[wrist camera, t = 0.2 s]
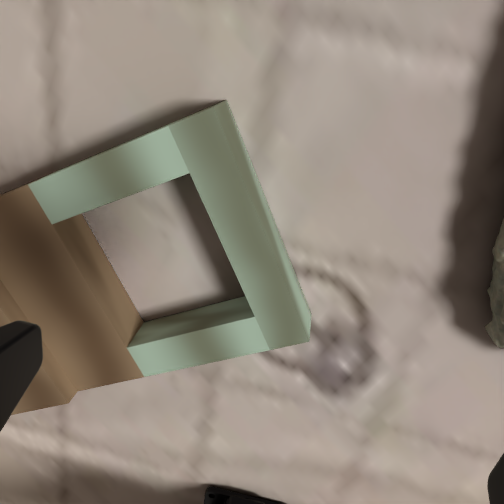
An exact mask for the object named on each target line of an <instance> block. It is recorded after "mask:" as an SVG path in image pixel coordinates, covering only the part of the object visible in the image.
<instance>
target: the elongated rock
mask: <svg viewBox="0 0 504 504" xmlns="http://www.w3.org/2000/svg"><path fill="white" fill-rule="evenodd" d="M492 253H493V255H494V262H493V266H492V272H493V278H492V281H491V283H490V287H489V288H488V289H487V292H488V294H489V296H490V299H491V300H490V303H491V310H492V313H493V317H492V321H491V322H490V323H489V324H488V325H486V326H485V329H486V331H487V332H488V334H489V336H490V337H491V339H492V341H493V342H494V343H495V345H496V346H498V347H499V348H500V349H503V348H504V219H503V221H502V225H501V228H500V232H499V235H498V236H497V238H496V243H495V246H494V248H493V249H492Z"/></svg>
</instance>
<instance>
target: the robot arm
mask: <svg viewBox="0 0 504 504" xmlns="http://www.w3.org/2000/svg"><path fill="white" fill-rule="evenodd" d="M42 361H43V346H42V332H41V328H40V326H39V325H37V324H34V323H30V322H26V321H21V320H18V321H14V322H11V323H9V324H6V325H3V326H1V327H0V431H1V430H2V428H3V427H4V425H5V424H6V422H7V420H8V419H9V417H10V416H11V414H12V412H13V411H14V409H15V408H16V406H17V404H18V403H19V401H20V399H21V398H22V396H23V395H24V393H25V391H26V390H27V388H28V387H29V385H30V383H31V382H32V380H33V379H34V377H35V375H36V374H37V372H38V371H39V369H40V367H41V364H42ZM488 494H489V501H490V504H504V454H503V455H502V457H501V458H500V460H499V461H498V462H497V464H496V465H495V467H494V468H493V470H492V471H491V473H490V475H489V478H488ZM204 504H279V503H275V502H271V501H267V500H264V499H260V498H256V497H252V496H248V495H244V494H240V493H236V492H232V491H228V490H224V489H220V488H216V487H208V488H207V490H206V493H205V499H204Z"/></svg>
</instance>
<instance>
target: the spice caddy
mask: <svg viewBox="0 0 504 504" xmlns="http://www.w3.org/2000/svg"><path fill="white" fill-rule="evenodd" d="M189 173H190V175H191V177H192V180H193V182H194V184H195V186H196V188H197V191H198V193H199V195H200V197H201V199H202V202H203V204H204V206H205V208H206V210H207V213H208V215H209V217H210V219H211V221H212V224H213V226H214V228H215V230H216V232H217V235H218V237H219V239H220V241H221V243H222V246H223V248H224V250H225V252H226V254H227V257H228V259H229V261H230V263H231V265H232V268H233V270H234V272H235V274H236V276H237V279H238V281H239V283H240V285H241V287H242V290H243V292H244V294H245V296H244V297H240V298H236V299H232V300H228V301H224V302H220V303H217V304H213V305H209V306H205V307H201V308H197V309H194V310H190V311H186V312H182V313H178V314H174V315H171V316H167V317H163V318H159V319H155V320H151V321H148V322H143V320H142V318H141V317H140V315H139V313H138V311H137V310H136V308H135V306H134V304H133V303H132V301H131V299H130V297H129V296H128V294H127V292H126V291H125V289H124V287H123V285H122V284H121V282H120V280H119V278H118V277H117V275H116V273H115V271H114V270H113V268H112V266H111V264H110V263H109V261H108V259H107V257H106V256H105V254H104V252H103V250H102V249H101V247H100V245H99V243H98V242H97V240H96V238H95V236H94V235H93V233H92V231H91V229H90V228H89V226H88V224H87V222H86V221H85V219H84V217H83V215H82V214H81V213H84V212H87V211H89V210H92V209H95V208H97V207H100V206H103V205H105V204H108V203H111V202H113V201H116V200H119V199H122V198H124V197H127V196H130V195H132V194H135V193H138V192H140V191H143V190H146V189H148V188H151V187H154V186H156V185H159V184H162V183H164V182H167V181H170V180H172V179H175V178H178V177H181V176H183V175H186V174H189ZM18 320H21V321H26V322H30V323H34V324H37V325H39V326H40V328H41V332H42V346H43V361H42V364H41V367H40V369H39V371H38V372H37V374H36V375H35V377H34V379H33V380H32V382H31V383H30V385H29V387H28V388H27V390H26V391H25V393H24V395H23V396H22V398H21V399H20V401H19V403H18V404H17V406H16V408H15V409H14V411H13V412H12V414H11V415H14V414H19V413H23V412H28V411H33V410H38V409H43V408H48V407H53V406H58V405H63V404H67V403H69V402H70V401H71V399H72V398H73V397H74V395H75V394H76V393H77V391H81V390H86V389H90V388H95V387H100V386H104V385H109V384H114V383H118V382H123V381H128V380H132V379H137V378H142V377H146V376H151V375H156V374H160V373H165V372H170V371H174V370H179V369H184V368H188V367H193V366H198V365H202V364H207V363H212V362H216V361H221V360H226V359H230V358H235V357H240V356H244V355H249V354H254V353H258V352H263V351H268V350H272V349H277V348H282V347H286V346H291V345H296V344H300V343H305V342H309V340H310V326H311V312H310V310H309V307H308V305H307V302H306V300H305V297H304V294H303V292H302V289H301V287H300V284H299V282H298V279H297V277H296V274H295V272H294V269H293V267H292V264H291V262H290V259H289V257H288V254H287V251H286V249H285V246H284V244H283V241H282V239H281V236H280V234H279V231H278V229H277V226H276V224H275V221H274V219H273V216H272V214H271V211H270V208H269V206H268V203H267V201H266V198H265V196H264V193H263V191H262V188H261V186H260V183H259V181H258V178H257V176H256V173H255V171H254V168H253V165H252V163H251V160H250V158H249V155H248V153H247V150H246V148H245V145H244V143H243V140H242V138H241V135H240V133H239V130H238V128H237V125H236V122H235V120H234V117H233V115H232V112H231V110H230V107H229V105H228V102H227V100H225V101H223V102H220V103H218V104H215V105H213V106H211V107H208V108H206V109H204V110H201V111H199V112H196V113H194V114H192V115H189V116H187V117H184V118H182V119H180V120H177V121H175V122H173V123H170V124H168V125H165V126H163V127H161V128H158V129H156V130H154V131H151V132H149V133H146V134H144V135H142V136H139V137H137V138H135V139H132V140H130V141H127V142H125V143H123V144H120V145H118V146H115V147H113V148H111V149H108V150H106V151H104V152H101V153H99V154H96V155H94V156H92V157H89V158H87V159H85V160H82V161H80V162H77V163H75V164H73V165H70V166H68V167H65V168H63V169H61V170H58V171H56V172H54V173H51V174H49V175H46V176H44V177H42V178H39V179H37V180H35V181H32V182H30V183H27V184H25V185H23V186H20V187H18V188H16V189H13V190H11V191H8V192H6V193H4V194H1V195H0V327H1V326H3V325H6V324H9V323H11V322H14V321H18Z"/></svg>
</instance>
